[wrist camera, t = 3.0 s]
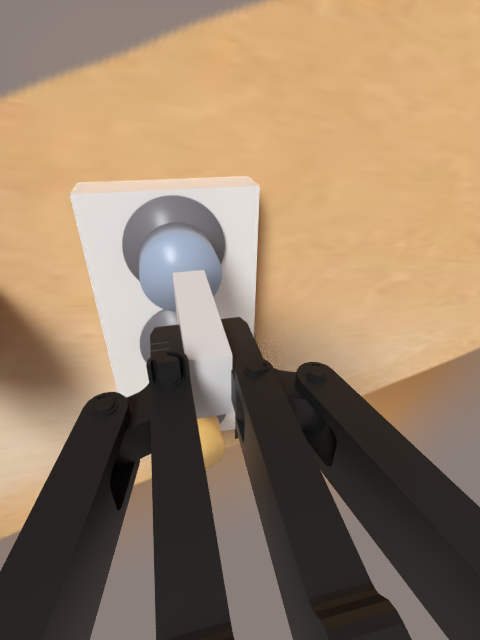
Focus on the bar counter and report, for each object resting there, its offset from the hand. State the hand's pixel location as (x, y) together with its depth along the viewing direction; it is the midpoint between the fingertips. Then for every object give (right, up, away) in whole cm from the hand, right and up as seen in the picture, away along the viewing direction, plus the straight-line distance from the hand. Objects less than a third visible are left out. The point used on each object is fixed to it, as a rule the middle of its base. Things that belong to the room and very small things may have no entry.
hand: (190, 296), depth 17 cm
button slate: (-1, +3, +4) cm, 5 cm away
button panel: (-3, -1, +12) cm, 12 cm away
